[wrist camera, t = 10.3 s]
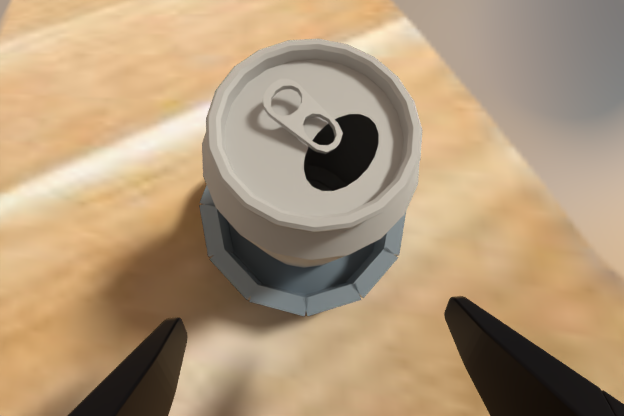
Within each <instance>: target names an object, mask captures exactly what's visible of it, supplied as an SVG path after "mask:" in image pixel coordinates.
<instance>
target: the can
mask: <svg viewBox="0 0 624 416" xmlns="http://www.w3.org/2000/svg"><path fill="white" fill-rule="evenodd" d="M421 142H422V127H421V123H420V120H419V116H418V113H417V109H416V106H415V102H414V100H413V99H412V97H411V96H410V94H409V93H408V91H407V90H406V88H405V87H404V85H403V84H402V82H401V81H400V79H399V78H398V76H396V75H395V74H394V73H393V72H392V71H390V70H389V69H388V68H387V67H386V66H385V65H383V64H382V63H381V62H380V61H379V60H377V59H376V58H375V57H373V56H371V55H369V54H367V53H365V52H363V51H360V50H358V49H356V48H354V47H352V46H350V45H348V44H343V43H338V42H333V41H327V40H322V39H305V40H288V41H285V42H282V43H279V44H276V45H273V46H270V47H267V48H264V49H261V50H258V51H257V52H255V53H254V54H252V55H251V56H249V57H248V58H246V59H245V60H244V61H242V62H241V63H239V64H238V65H236V66H235V67H234V68H233V69H232V70H231V71H230V73H229V74H228V75H227V77H226V78H225V79H224V80H223V82H222V83H221V84H220V85H219V87H218V88H217V89H216V91H215V94H214V97H213V100H212V103H211V106H210V109H209V112H208V115H207V117H206V134H205V137H204V140H203V143H202V155H203V177H204V179H205V182H206V184H207V187H208V189H209V192H210V194H211V197H212V199H213V202H214V204H215V207H216V208H217V209H218V210H219V212H220V213H221V214H222V215H223V216H224V217H225V218H226V219H227V220H228V222H229V223H230V224H231V225H232V226H233V227H234V228H235V229H236V231H237V232H238V233H239V234H240V235H241V236H243V237H244V238H246V239H247V240H249V241H250V242H251V243H253V244H254V245H256V246H257V247H259V248H260V249H262V250H263V251H264V252H266V253H267V254H269V255H270V256H272V257H273V258H275V259H277V260H279V261H281V262H282V263H284V264H286V265H291V266H296V267H301V268H307V267H314V266H321V265H324V264H326V263H329V262H331V261H334V260H337V259H339V258H342V257H344V256H347V255H349V254H351V253H353V252H355V251H357V250H359V249H361V248H363V247H365V246H367V245H369V244H371V243H373V242H375V241H377V240H379V239H381V238H382V237H383V236H384V235H385V234H386V233H387V232H388V231H389V230H390V229H391V228H392V227H393V226H394V225H395V224H396V223H397V221H398V220H399V219H400V218H401V217H402V216H403V215H404V214H405V212H406V210H407V208H408V206H409V203H410V201H411V199H412V196H413V194H414V192H415V190H416V187H417V185H418V175H419V161H420V156H421Z"/></svg>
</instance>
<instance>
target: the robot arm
mask: <svg viewBox="0 0 624 416" xmlns="http://www.w3.org/2000/svg"><path fill="white" fill-rule="evenodd" d="M444 315H445V320H446V322H447V325H448V327H449V330H450V332H451V335H452V337H453V339H454V342H455V344H456V347H457V349H458V351H459V354H460V356H461V359H462V361H463V363H464V365H465V367H466V369H467V371H468V373H469V375H470V377H471V379H472V381H473V383H474V385H475V387H476V389H477V391H478V393H479V395H480V396H481V398H482V400H483V402H484V404H485V406H486V408H487V410H488V412H489V414H490V416H624V404H623V403H621V402H620V401H618V400H617V399H615V398H614V397H612V396H611V395H609V394H608V393H606V392H605V391H601V389H600V388H599V387H597V386H596V385H594V384H593V383H592V382H590V381H589V380H587V379H586V378H584V377H583V376H581V375H580V374H578V373H577V372H575V371H574V370H572V369H571V368H569V367H568V366H566V365H565V364H563V363H562V362H560V361H559V360H557V359H556V358H554V357H553V356H551V355H550V354H549V353H547V352H546V351H544V350H543V349H541V348H540V347H538V346H537V345H535V344H534V343H532V342H531V341H529V340H528V339H526V338H525V337H523V336H522V335H520V334H519V333H517V332H516V331H514V330H513V329H511V328H510V327H509V326H507V325H506V324H504V323H503V322H501V321H500V320H498V319H497V318H495V317H494V316H492V315H491V314H489V313H488V312H486V311H485V310H483V309H482V308H480V307H479V306H477V305H476V304H474V303H473V302H471V301H470V300H469V299H467V298H465V297H463V296H457V297H451V298H450V299H449V302H448V304H447V307H446V310H445V314H444ZM186 343H187V332H186V329H185V327H184V324H183V322H182V319H181V318H168V319H166V320H164V321H163V322H162V323H161V324H160V325H159V326H158V327H157V328H156V329H155V330H154V331H153V332H152V333H151V334H150V335H149V336H148V337H147V338H146V339H145V340H144V341H143V342H142V343H141V344H140V345H139V346H138V347H137V348H136V349H135V350H134V351H133V352H132V353H131V354H130V355H129V356H128V357H127V358H126V359H124V360H123V361H122V362H121V363H120V364H119V365H118V366H117V367H116V368H115V369H114V370H113V371H112V372H111V373H110V374H109V375H108V376H107V377H106V378H105V379H104V380H103V381H102V382H101V383H100V384H99V385H98V386H97V387H96V388H95V389H94V390H93V391H92V392H91V393H90V394H89V395H88V396H87V397H86V398H85V399H84V400H83V401H82V402H81V403H80V404H79V405H78V406H77V407H76V408H75V409H74V410H73V411H72V412H71V413H70V414H69V415H68V416H168V414H169V411H170V408H171V405H172V402H173V399H174V395H175V392H176V388H177V384H178V379H179V375H180V370H181V366H182V361H183V357H184V352H185V348H186Z"/></svg>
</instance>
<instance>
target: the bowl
mask: <svg viewBox="0 0 624 416" xmlns="http://www.w3.org/2000/svg"><path fill="white" fill-rule="evenodd" d="M200 203H201V204H202V205H199V207H200V212H201V218H202V224H203V230H204V235H205V241H206V247H207V253H208V257H211V258H210V260H211V262H212V263H213V264H214V265H215V266H216V267H217V268H218V269H219V270H220V271H221V272H222V274H223V275H224V276H225V277H226V278H227V279H228V280H229V281H230V282H231V283H232V284H233V286H234V287H235V288H236V289H237V290H238V291H239V292H240V293H241V294H242V295H243V296H244V298H245V299H246V300H248V299H250V301H249V302H253V303H256V304H260V305H264V306H267V307H271V308H275V309H279V310H282V311H286V312H290V313H294V314H297V315H301V316H305V312H307V316H310V315H314V314H317V313H320V312H323V311H326V310H330V309H333V308H336V307H339V306H342V305H346V304H349V303H352V302H355V301H359V300H361V298H360V297H362V298H364V297H365V296H366V295H367V294H368V292H369V291H370V290H371V289H372V288H373V287H374V285H375V284H376V283H377V282H378V281H379V280H380V278H381V277H382V276H383V275H384V274H385V272H386V271H387V270H388V269H389V268H390V267H391V265H392V264H393V263H394V262H395V261H396V260H397V258H398V257H397V256H399V253H400V247H401V240H402V234H403V228H404V221H405V215H406V212H405V214H404V215H403V216H402V217H401V218H400V219H399V220H398V221H397V223H396V224H395V225H394V226H393V227H392V228H391V229H390V230H389V231H388V232H387V233H386V234H385V235H384V236H383V237H382V238H381V239H379V240H377V241H375V242H373V243H371V244H369V245H367V246H365V247H363V248H361V249H359V250H357V251H355V252H353V253H351V254H349V255H347V256H344V257H342V258H339V259H337V260H334V261H331V262H329V263H326V264H324V265H321V266H314V267H307V268H301V267H296V266H291V265H286V264H284V263H282V262H281V261H279V260H277V259H275V258H273V257H272V256H270V255H269V254H267V253H266V252H264V251H263V250H262V249H260V248H259V247H257V246H256V245H254V244H253V243H251V242H250V241H249V240H247V239H246V238H244V237H243V236H241V235H240V234H239V233H238V232H237V231H236V229H235V228H234V227H233V226H232V225H231V224H230V223H229V222H228V220H227V219H226V218H225V217H224V216H223V215H222V214H221V213H220V212H219V210H218V209H217V208H216V207H215V204H214V202H213V199H212V197H211V194H210V192H209V189H208V187H207V185H206V188H205V190H204V193H203V195H202V198H201V201H200Z"/></svg>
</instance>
